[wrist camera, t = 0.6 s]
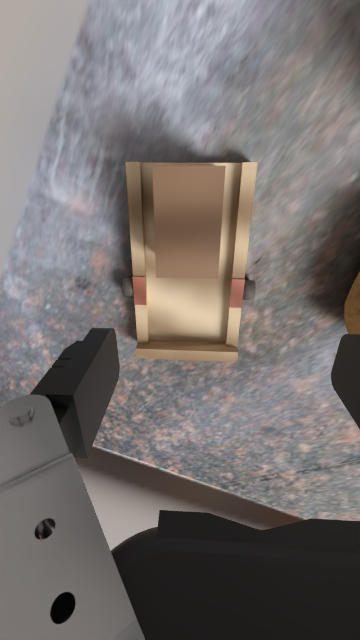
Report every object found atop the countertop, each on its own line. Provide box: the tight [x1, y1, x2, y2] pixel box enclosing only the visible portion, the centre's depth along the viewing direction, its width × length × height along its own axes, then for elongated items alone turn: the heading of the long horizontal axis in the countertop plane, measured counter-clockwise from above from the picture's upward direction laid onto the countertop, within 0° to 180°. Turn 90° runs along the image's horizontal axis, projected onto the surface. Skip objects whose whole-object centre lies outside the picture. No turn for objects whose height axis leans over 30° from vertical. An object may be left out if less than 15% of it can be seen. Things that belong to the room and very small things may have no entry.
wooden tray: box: [122, 162, 257, 362], centre depth 28 cm, size 19×13×3 cm
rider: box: [153, 165, 226, 279], centre depth 24 cm, size 8×5×6 cm, turn 0°
